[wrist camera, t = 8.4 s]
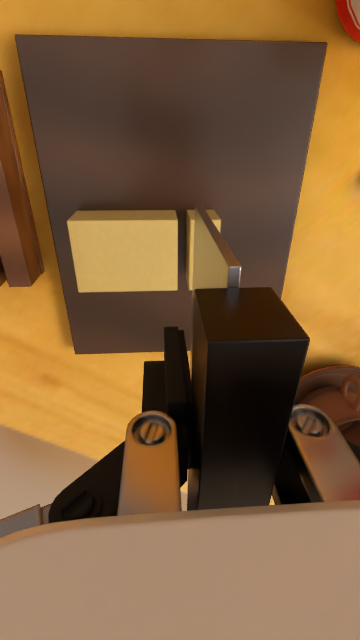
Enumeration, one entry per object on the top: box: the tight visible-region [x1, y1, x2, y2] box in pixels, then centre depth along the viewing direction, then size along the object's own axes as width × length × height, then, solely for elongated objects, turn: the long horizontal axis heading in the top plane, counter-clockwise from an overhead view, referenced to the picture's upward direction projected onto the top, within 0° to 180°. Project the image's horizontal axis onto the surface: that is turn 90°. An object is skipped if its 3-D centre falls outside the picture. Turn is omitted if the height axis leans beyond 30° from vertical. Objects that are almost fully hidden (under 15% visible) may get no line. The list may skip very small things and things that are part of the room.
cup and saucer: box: [296, 365, 360, 447], centre depth 33 cm, size 12×12×6 cm
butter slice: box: [185, 210, 221, 290], centre depth 24 cm, size 5×2×3 cm, turn 0°
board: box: [15, 34, 327, 354], centre depth 25 cm, size 22×18×1 cm
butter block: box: [67, 210, 178, 292], centre depth 23 cm, size 5×7×3 cm
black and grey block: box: [187, 205, 310, 511], centre depth 12 cm, size 10×2×9 cm, turn 0°
